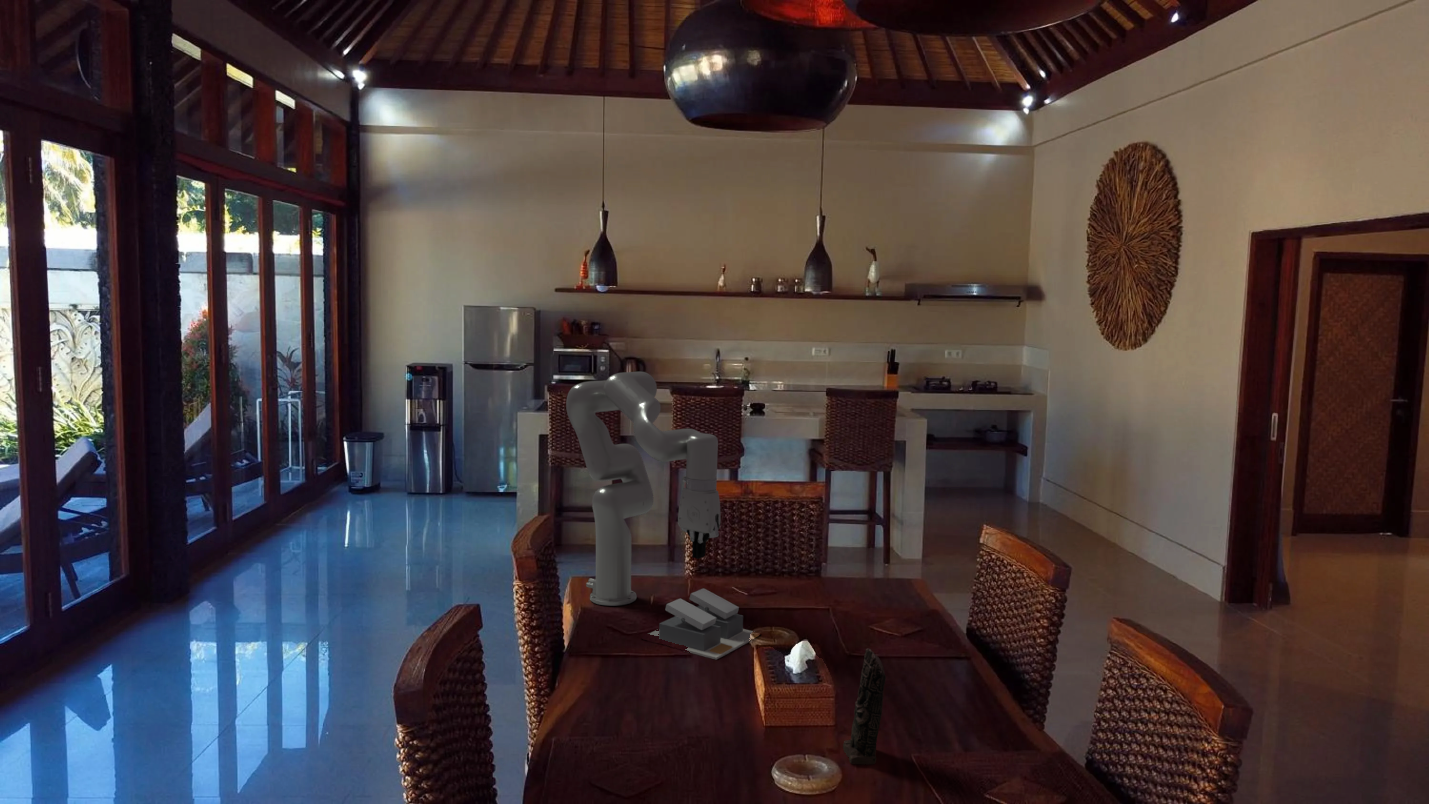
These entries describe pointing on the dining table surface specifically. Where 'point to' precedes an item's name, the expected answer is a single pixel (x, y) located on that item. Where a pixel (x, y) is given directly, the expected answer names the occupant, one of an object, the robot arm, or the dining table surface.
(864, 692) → the statue
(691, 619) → the switch
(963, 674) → the dining table surface
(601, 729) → the dining table surface
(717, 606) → the switch
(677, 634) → the switch board
